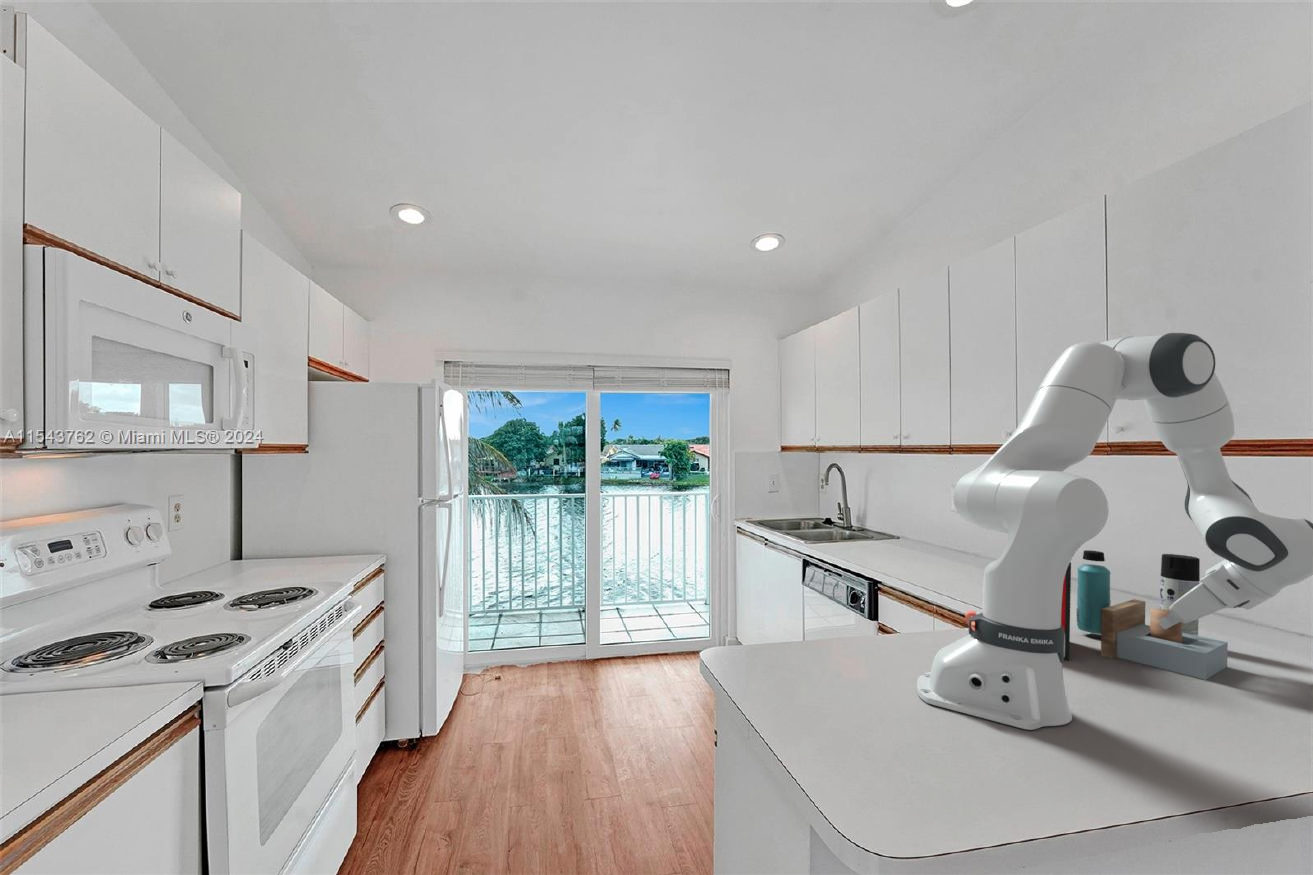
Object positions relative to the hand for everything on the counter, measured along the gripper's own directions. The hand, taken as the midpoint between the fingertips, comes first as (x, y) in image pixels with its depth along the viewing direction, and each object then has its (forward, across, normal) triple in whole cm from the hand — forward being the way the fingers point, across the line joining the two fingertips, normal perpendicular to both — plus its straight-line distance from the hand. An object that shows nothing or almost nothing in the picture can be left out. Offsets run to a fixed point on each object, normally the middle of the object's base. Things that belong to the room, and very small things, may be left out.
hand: (1170, 622), depth 122 cm
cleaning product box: (+19, +13, -7) cm, 24 cm away
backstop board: (+11, 0, 0) cm, 11 cm away
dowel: (+5, 0, +4) cm, 7 cm away
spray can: (+8, -19, +4) cm, 21 cm away
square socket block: (+6, 0, +6) cm, 8 cm away
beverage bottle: (+17, -6, -5) cm, 19 cm away
